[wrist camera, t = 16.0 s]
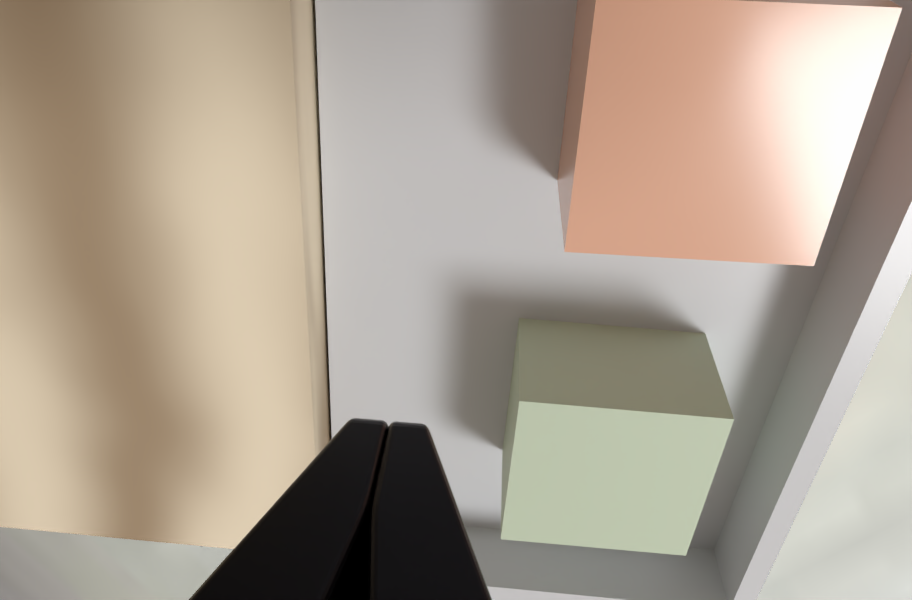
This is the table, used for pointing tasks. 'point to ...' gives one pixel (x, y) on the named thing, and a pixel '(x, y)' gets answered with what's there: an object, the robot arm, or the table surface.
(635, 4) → the terracotta block
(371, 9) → the tray
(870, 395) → the table surface
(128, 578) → the table surface
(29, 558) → the table surface
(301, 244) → the birch board
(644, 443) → the sage block
